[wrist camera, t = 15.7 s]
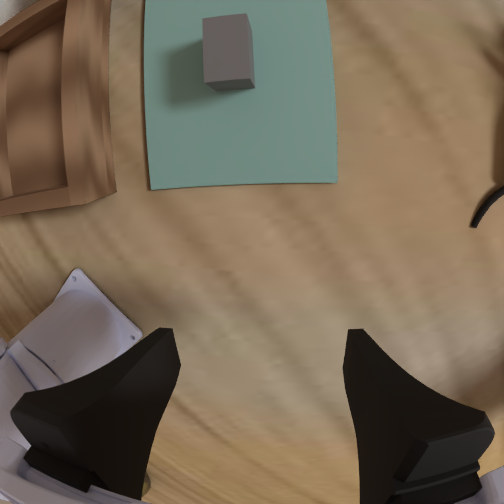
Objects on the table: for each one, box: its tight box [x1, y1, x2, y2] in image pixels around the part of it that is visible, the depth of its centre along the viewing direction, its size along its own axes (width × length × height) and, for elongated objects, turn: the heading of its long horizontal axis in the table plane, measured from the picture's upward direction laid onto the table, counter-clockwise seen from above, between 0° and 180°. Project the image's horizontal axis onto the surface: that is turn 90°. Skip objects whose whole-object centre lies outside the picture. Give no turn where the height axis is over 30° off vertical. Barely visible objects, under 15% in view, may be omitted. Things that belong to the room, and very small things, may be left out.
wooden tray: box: [0, 0, 117, 217], centre depth 14 cm, size 24×12×5 cm, turn 3°
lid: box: [144, 0, 338, 190], centre depth 15 cm, size 16×12×4 cm
